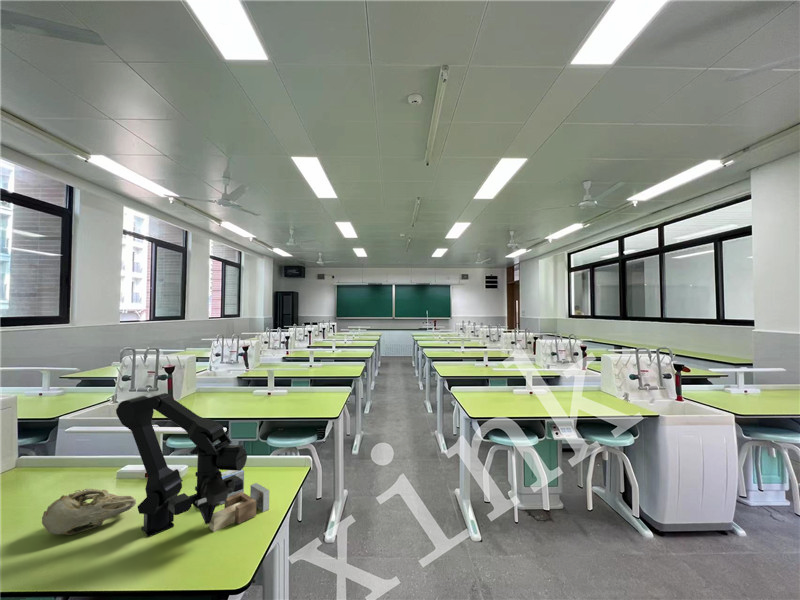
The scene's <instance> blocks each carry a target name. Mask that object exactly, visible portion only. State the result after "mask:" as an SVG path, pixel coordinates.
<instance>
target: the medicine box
mask: <svg viewBox="0 0 800 600" xmlns="http://www.w3.org/2000/svg"><path fill="white" fill-rule="evenodd" d="M221 474H222V479H225V478H228V477H231V476H233V475H236V476H237V477H239V478H241V479H242V480H243V482H244V483H245V470H243V469H242V470H240V471H237V470H225V471H223V472H221ZM240 492H243V493H245V487H244V488H243V489H242V490H239V491H237V492H232V493H230V494H228V496H227V498H228V497H230V496H232V495H235V494H237V493H240ZM218 504H219V505H223V504H225V501H221V502H219V503H218Z"/></svg>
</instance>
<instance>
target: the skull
mask: <svg viewBox="0 0 800 600" xmlns="http://www.w3.org/2000/svg"><path fill="white" fill-rule="evenodd" d="M88 500H92V501H90V502H88ZM135 505H137V499H135V498H134V497H133V496H131V495H116V494H113V493H109V491H108V490H107V489H96V488H95V489H94V488H85V489H82V490H80V489H78V490H75V491H74V492H73V493H69V494H68V495H61V496H60V498H58V499H56V500H55V501H53V502H52V503H51V504H50V505H49V506H48V507H47V509H46V510H45V511H44V512H43V514H42V517H41V524H42V526H43V527H44V528H45V530H46V531H47V532H48V533H51V534H53V535H67V536H73V535H76V534H78V533H82V532H85V531H88V530H92V529H95V528H96V527H100V526H102V525H103V524H104V523H103V522H104V521H106V520H107V519H110V518H112V517H115V516H118V515H120V514H122V513H125V512H127V511H129V510H131V509H133V507H135ZM90 523H92V524H90ZM77 527H78V528H77Z"/></svg>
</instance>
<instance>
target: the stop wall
mask: <svg viewBox="0 0 800 600" xmlns="http://www.w3.org/2000/svg"><path fill="white" fill-rule="evenodd" d="M249 494H250V495H249V496H250V497H251V498H253V499H254V500H256V509H258V510H260V511H261V512H262V513H265V512H266V511H269V509H270V489H268V488H266V487H265V486H262V485H261V484H259V483H258V482H255V483H252V484H250V493H249Z"/></svg>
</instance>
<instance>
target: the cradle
mask: <svg viewBox="0 0 800 600" xmlns="http://www.w3.org/2000/svg"><path fill="white" fill-rule="evenodd" d="M241 501H243V502H244V503H242V504H239V505H237V506H236V511H235V522H234V523H237V524H238V525H240V524H241V523H243V522H246V521H248V520H250V519H252V518H254V517H256V516H257V508H256V500H254V499H253V498H251V497H250V495H248V494H246V493H245V492H244V493H243V492H240V493H237V494H235V495H232V496H230V497H228V498H227V499H226V500H225V503H224V509H225V508H227V507H229V506H232V505H234V504H236V503H239V502H241Z"/></svg>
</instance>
